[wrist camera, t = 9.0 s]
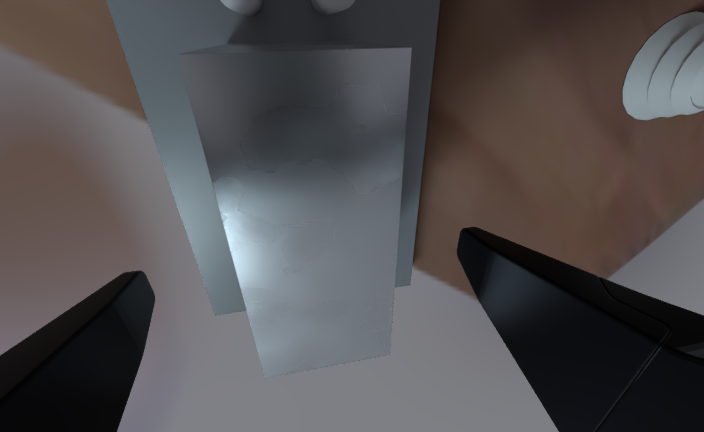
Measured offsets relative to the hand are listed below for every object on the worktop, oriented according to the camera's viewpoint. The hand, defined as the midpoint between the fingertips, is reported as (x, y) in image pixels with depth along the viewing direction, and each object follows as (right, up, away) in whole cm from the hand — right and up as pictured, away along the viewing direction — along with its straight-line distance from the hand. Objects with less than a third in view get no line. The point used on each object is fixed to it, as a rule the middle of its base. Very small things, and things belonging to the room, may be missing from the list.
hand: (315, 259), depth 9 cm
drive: (-1, +3, +5) cm, 6 cm away
